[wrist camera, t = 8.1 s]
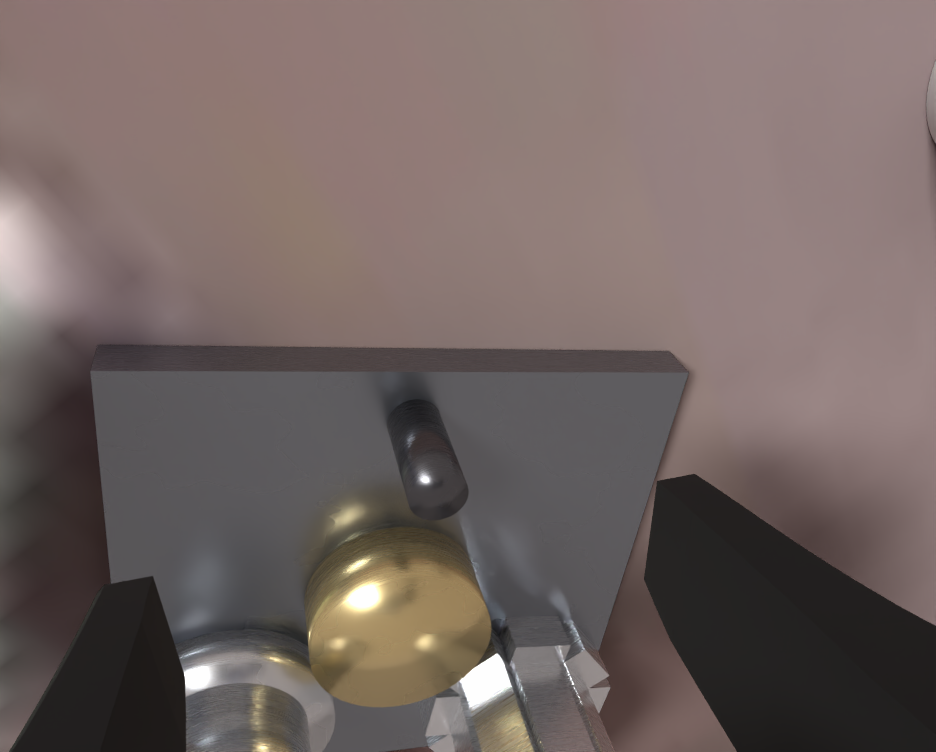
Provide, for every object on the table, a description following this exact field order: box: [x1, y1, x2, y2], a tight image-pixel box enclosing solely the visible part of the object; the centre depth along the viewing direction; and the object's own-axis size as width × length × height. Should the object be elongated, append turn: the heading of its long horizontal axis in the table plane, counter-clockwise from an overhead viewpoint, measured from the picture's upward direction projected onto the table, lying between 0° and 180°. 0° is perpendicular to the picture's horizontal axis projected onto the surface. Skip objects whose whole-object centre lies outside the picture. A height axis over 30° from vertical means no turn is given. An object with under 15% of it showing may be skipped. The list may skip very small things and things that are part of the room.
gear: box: [418, 616, 615, 752], centre depth 25 cm, size 6×6×5 cm
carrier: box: [90, 345, 689, 752], centre depth 23 cm, size 15×15×4 cm
